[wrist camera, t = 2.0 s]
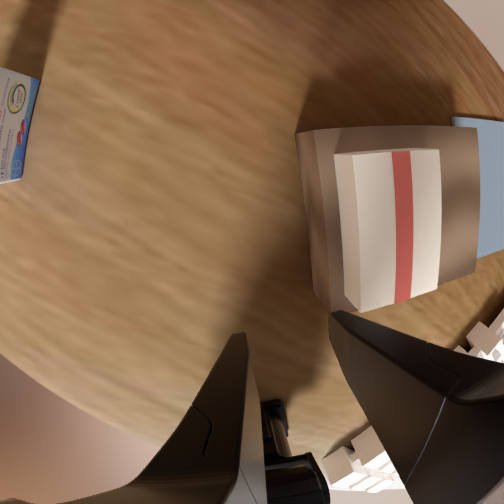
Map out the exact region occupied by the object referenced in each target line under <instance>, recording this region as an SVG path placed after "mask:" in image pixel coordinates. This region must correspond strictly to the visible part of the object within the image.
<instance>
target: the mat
mask: <svg viewBox="0 0 504 504" xmlns="http://www.w3.org/2000/svg"><path fill="white" fill-rule="evenodd" d="M451 119H452V126H458V127H474V128H477V133H478V144H479V160H480V222H479V238H478V249H477V258H480V257H483V256H486V255H488V254H491V253H494V252H497V251H499V250H502V249H504V122H499V121H492V120H484V119H475V118H464V117H451Z"/></svg>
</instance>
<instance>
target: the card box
mask: <svg viewBox="0 0 504 504" xmlns="http://www.w3.org/2000/svg"><path fill="white" fill-rule="evenodd" d="M333 155H334V163H335V171H336V180H337V189H338V199H339V210H340V222H341V235H342V250H343V269H344V295H345V296H346V297H347V298H348V300H349V301H350V302H351V303H352V304H353V305H354V306H355V308H356V309H357V310H358V311H359V312H360V313H363V312H367V311H370V310H373V309H377V308H380V307H383V306H387V305H390V304H393V303H395V304H396V303H399V302H402V301H406V300H409V299H410V298H412V297H415V296H418V295H421V294H424V293H427V292H430V291H432V290H435V289H437V284H438V275H439V263H440V248H441V221H442V196H441V169H440V154H439V149H426V148H403V149H386V150H373V151H361V152H350V153H340V154H333Z"/></svg>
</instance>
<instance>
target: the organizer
mask: <svg viewBox="0 0 504 504" xmlns="http://www.w3.org/2000/svg"><path fill="white" fill-rule="evenodd" d="M466 338H467V340H468V342H469V344H470V346H471V348H472V349H471V350H470V351H469V352H468V353H467V352H466V351H465V350H464V349H463V348H462V347H461V346H460V345H458V346H457V347H456V348H455V349H454V351H456V352H460V353H464V354H467V355H471V356H475V357H479V358H484V359H488V360H492V361H496V362H500V363H504V308H503V310H502V311H501V312H500V314H499V315H498V316H497V318H496V319H495V320H494V322H493V323H492V324H491V326H490V327H489V328H488V327H486V326H485V325H484V324H482V323H481V322H480V321H479V322H478V323H477V324H476V325H475V327H474V328H473V329H472V330H471V331H470V333H469V334H468V335H467V336H466ZM351 443H352V445H353V447H354V449H355V451H353V450H351V449H348V448H346V447H343V446H342V447H341V448H339V449H338V450H336V451H335V452H333V453H332V454H330V455H329V456H327V457H325V458H324V459H322V462H323V465H324V468H325V470H326V473H327V476H328V478H329V481H330V484H331V485H332V486H337V487H342V488H346V487H348V486H349V487H350V489H353V490H359V491H363V490H366V492H372V493H377V492H379V491H380V490H382V489H384V488H385V487H387V486H388V485H390V484H392V483H393V482H395V481H394V479H393V477H392V475H391V472H392V473H393V475H397V476H399V475H398V473H397V471H396V469H395V467H394V466H393V464H392V462H391V460H390V458H389V456H388V455H387V453H386V451H385V449H384V447H383V445H382V444H381V442H380V440H379V438H378V436H377V434H376V433H375V431H374V429H373V427H372V425H371V426H370V427H369V428H367V429H366V430H365V431H363V432H362V433H361V434H359V435H358V436H356V437H355V438H354V439H352V440H351Z"/></svg>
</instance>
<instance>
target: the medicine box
mask: <svg viewBox="0 0 504 504" xmlns="http://www.w3.org/2000/svg"><path fill="white" fill-rule="evenodd" d="M39 82H40V81H39V80H38V79H35V78H32V77H30V76H27V75H24V74H21V73H18V72H15V71H12V70H9V69H6V68H3V67H0V184H2V183H7V182H12V181H16V180H20V179H21V175H22V170H23V161H24V153H25V146H26V140H27V134H28V129H29V124H30V119H31V114H32V110H33V106H34V102H35V98H36V94H37V90H38V86H39Z"/></svg>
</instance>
